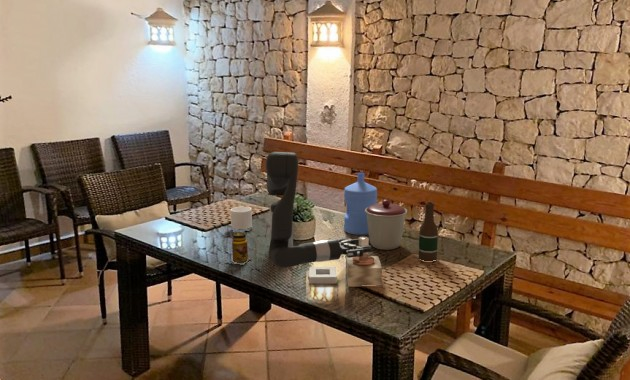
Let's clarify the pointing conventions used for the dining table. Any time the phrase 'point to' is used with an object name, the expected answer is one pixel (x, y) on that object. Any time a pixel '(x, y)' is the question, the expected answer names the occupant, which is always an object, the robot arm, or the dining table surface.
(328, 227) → the dining table surface
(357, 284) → the block
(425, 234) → the beer bottle
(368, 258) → the pin
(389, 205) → the canister
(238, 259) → the condiment
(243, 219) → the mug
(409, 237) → the dining table surface
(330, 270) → the pin stand
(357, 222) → the water jug
